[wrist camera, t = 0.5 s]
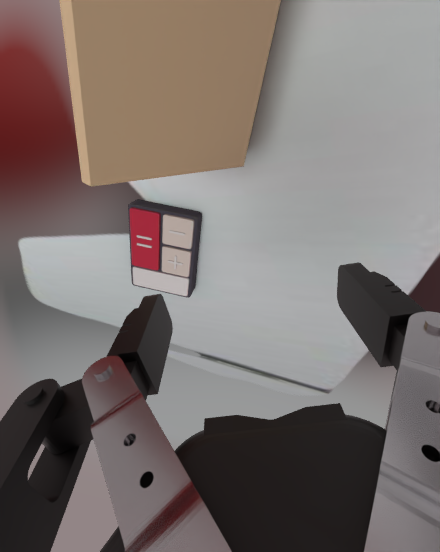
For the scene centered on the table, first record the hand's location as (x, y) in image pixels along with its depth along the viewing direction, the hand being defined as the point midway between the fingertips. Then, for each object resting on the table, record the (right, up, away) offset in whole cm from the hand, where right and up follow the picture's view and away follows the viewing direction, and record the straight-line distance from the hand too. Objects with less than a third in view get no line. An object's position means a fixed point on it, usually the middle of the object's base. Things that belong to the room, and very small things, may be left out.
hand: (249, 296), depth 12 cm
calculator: (-10, +6, +33) cm, 35 cm away
